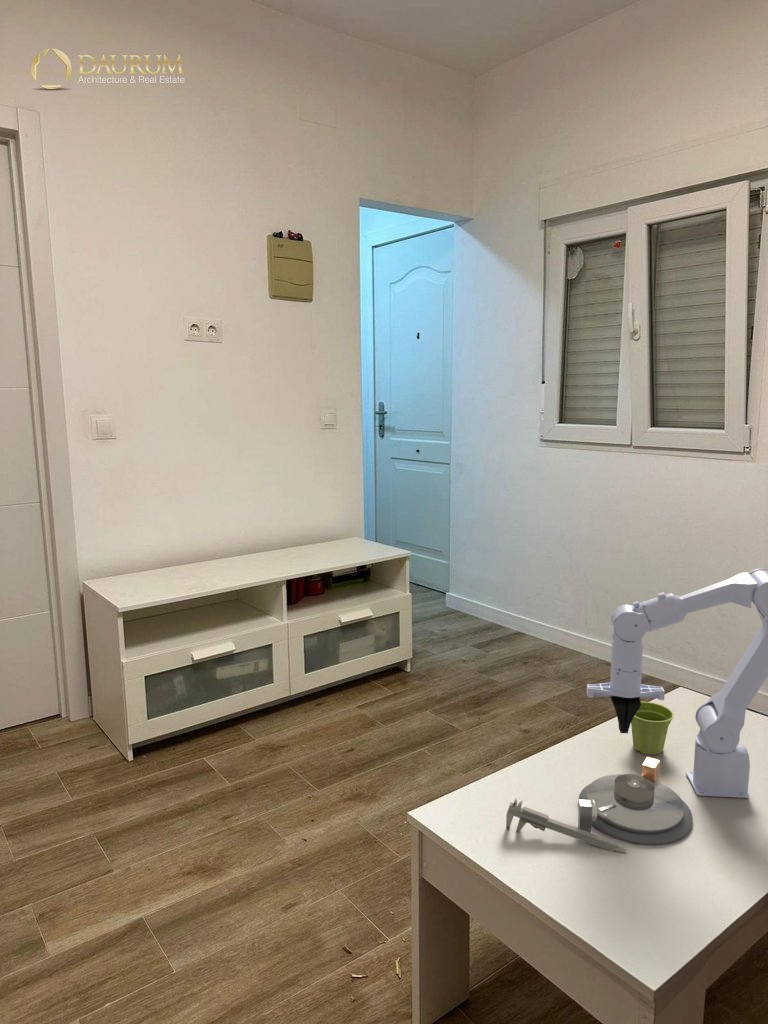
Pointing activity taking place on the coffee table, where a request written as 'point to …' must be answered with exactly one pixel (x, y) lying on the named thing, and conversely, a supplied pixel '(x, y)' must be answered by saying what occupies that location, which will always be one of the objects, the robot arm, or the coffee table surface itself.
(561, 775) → the coffee table surface
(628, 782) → the cover
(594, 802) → the block
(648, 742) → the plant pot
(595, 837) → the caliper
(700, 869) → the coffee table surface
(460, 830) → the coffee table surface
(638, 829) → the turntable
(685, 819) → the plinth
